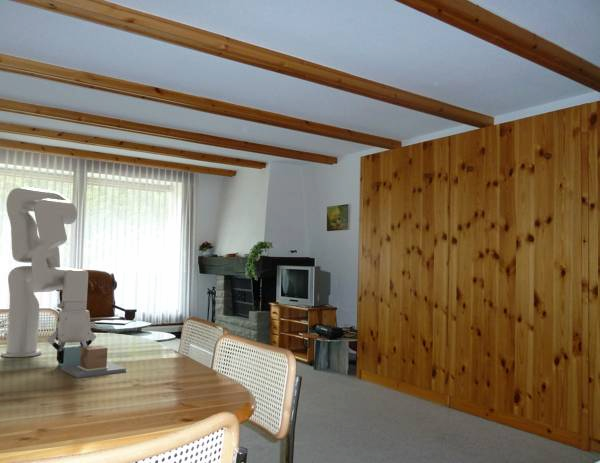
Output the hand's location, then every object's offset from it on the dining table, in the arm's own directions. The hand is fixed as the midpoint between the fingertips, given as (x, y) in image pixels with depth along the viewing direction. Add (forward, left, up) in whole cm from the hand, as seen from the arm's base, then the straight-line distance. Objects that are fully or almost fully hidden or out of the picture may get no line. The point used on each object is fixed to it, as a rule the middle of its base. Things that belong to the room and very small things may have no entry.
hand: (71, 361), depth 169 cm
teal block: (0, 0, -1) cm, 1 cm away
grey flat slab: (+12, +2, -1) cm, 12 cm away
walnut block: (+12, +2, 0) cm, 12 cm away
